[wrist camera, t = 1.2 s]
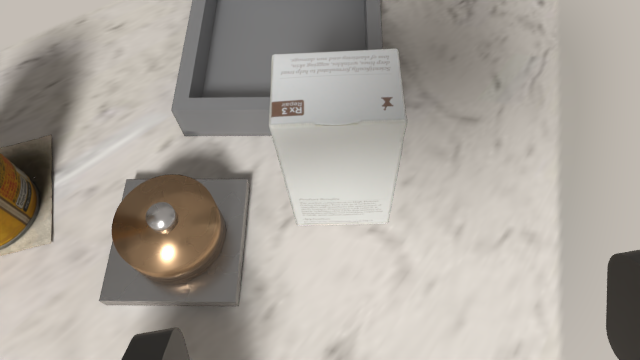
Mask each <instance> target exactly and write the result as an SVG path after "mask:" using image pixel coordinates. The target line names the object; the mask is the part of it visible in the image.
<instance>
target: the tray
mask: <svg viewBox="0 0 640 360" xmlns="http://www.w3.org/2000/svg"><path fill="white" fill-rule="evenodd" d="M377 49H383V48H382V29H381V11H380V0H192V6H191V11H190V16H189V21H188V26H187V32H186V37H185V42H184V47H183V52H182V58H181V63H180V68H179V73H178V78H177V84H176V89H175V94H174V99H173V104H172V110H171V111H172V113H173V114H174V116H175V118H176V120H177V122H178V124H179V126H180V128H181V130H182V132H183V134H184V136H267V135H271V132H270V128H269V110H270V91H271V62H272V55H274V54H293V53H314V52H336V51H357V50H377Z"/></svg>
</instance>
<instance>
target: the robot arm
mask: <svg viewBox="0 0 640 360" xmlns="http://www.w3.org/2000/svg"><path fill="white" fill-rule="evenodd" d="M606 330H607V336H608V339H609V342H610V345H611V347H612V349H613V351H614V353H615V355H616V356H617V358H618V359H619V360H640V250H636V251H630V252H625V253H619V254H614V255H613V256H612V257H611V258H610V261H609V263H608V272H607V315H606ZM122 360H190V359H189V355H188V352H187V348H186V344H185V340H184V337H183V334H182V332H181V331H180V329H179V328H171V329H165V330H159V331H153V332H148V333H142V334H137V335H135V336H134V337H133V338H132V340H131V342H130V344H129V346H128V348H127V350H126V352H125V354H124V356H123V358H122Z"/></svg>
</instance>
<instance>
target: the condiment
mask: <svg viewBox="0 0 640 360" xmlns="http://www.w3.org/2000/svg"><path fill="white" fill-rule="evenodd" d="M51 140H52V135H49V136H45V137H41V138H39V139H35V140H31V141H27V142H22V143H18V144H15V145H11V146H6V147H1V148H0V256H2V255H6V254H10V253H14V252H18V251H22V250H25V249H28V248H33V247H37V246H41V245H45V244H50V243H51V225H52V214H51V211H52V181H51V172H52V150H51V142H52V141H51ZM34 177H35V178H34Z"/></svg>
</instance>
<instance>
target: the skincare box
mask: <svg viewBox="0 0 640 360" xmlns="http://www.w3.org/2000/svg"><path fill="white" fill-rule="evenodd" d="M406 126H407V116H406V110H405V103H404V95H403V87H402V79H401V71H400V58H399V51H398V49H377V50H357V51H336V52H314V53H293V54H274V55H272V62H271V91H270V110H269V128H270V132H271V135H272V138H273V141H274V145H275V148H276V151H277V155H278V159H279V162H280V166H281V169H282V173H283V177H284V180H285V184H286V188H287V191H288V195H289V198H290V202H291V206H292V209H293V213H294V217H295V221H296V224H297V225H299V226H308V225H349V224H386V223H388V222H389V217H390V211H391V206H392V201H393V196H394V191H395V185H396V180H397V175H398V170H399V164H400V159H401V153H402V146H403V138H404V134H405V130H406Z"/></svg>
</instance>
